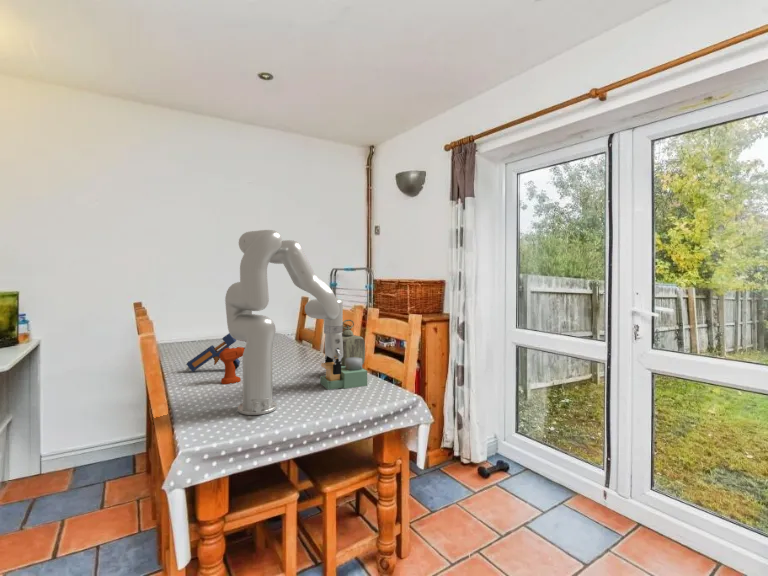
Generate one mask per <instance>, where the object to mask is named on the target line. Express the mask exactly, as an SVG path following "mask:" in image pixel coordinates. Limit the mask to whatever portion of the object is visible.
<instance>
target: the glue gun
mask: <svg viewBox="0 0 768 576" xmlns="http://www.w3.org/2000/svg"><path fill="white" fill-rule="evenodd" d="M221 340H223V342H221V343H220V344H219V345H217V346H216V347H215V345H210V346H209V347H207V348H206V349H204V350H203V351H201V352H200V353H199V354H197V355H196V356H195V357H193V358H192V359H190V360H189V361H188V362H186V366H187V368H186V369H185V370H184V371H183V373H186V372H187V371H189V370H190V371H191V372H192V373H193V372H195V371H196V370H198V369H199V368H200V367H202V366H203V365H206V363H207V362H209V361H210V360H212V359H213V360H214V364H213V366H215V365H217V363H218V362H219V361H220V358H219V355H220V353H221V352H222V351H223V350H224V349H225V348H230V347H231V345H233V344H234V343H236V341H237V340H236V339H234V338H233V337H232V336H231V335H230V333H229V332H228V333H227V334H226V335H225V336H223V337H222V338H221ZM234 361H236V363H237V365H239V366H240V363H241V360H240V359H239V358H238V359H236V360H234Z"/></svg>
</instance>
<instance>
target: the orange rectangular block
mask: <svg viewBox="0 0 768 576" xmlns="http://www.w3.org/2000/svg"><path fill="white" fill-rule="evenodd" d="M333 364H334V362H327V363H325V362H321V364H320V367H322V368H323V369H325V376H326V379H327V380H329V381H336V380H340V374H336V375H334V374H333Z"/></svg>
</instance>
